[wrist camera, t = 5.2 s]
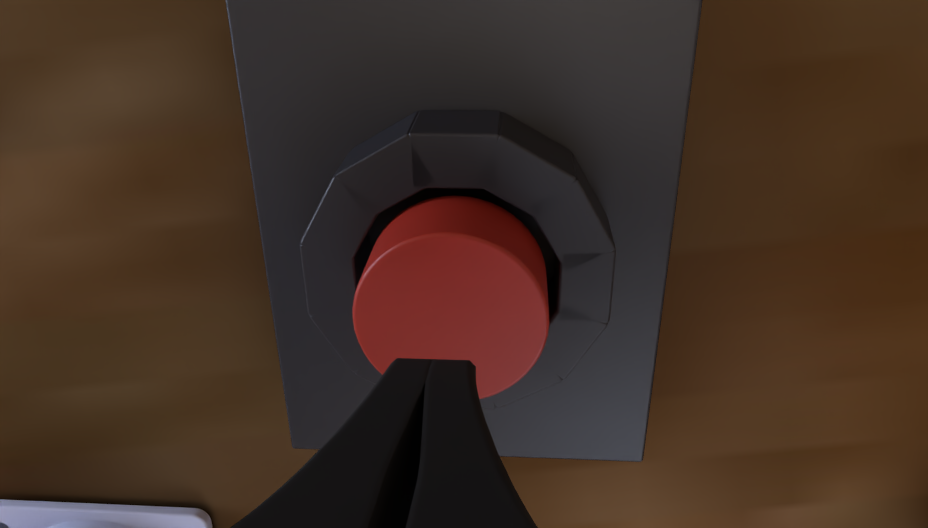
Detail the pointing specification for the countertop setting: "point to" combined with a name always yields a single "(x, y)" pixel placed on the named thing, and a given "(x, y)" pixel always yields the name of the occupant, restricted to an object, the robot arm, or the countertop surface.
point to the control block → (472, 185)
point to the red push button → (455, 291)
